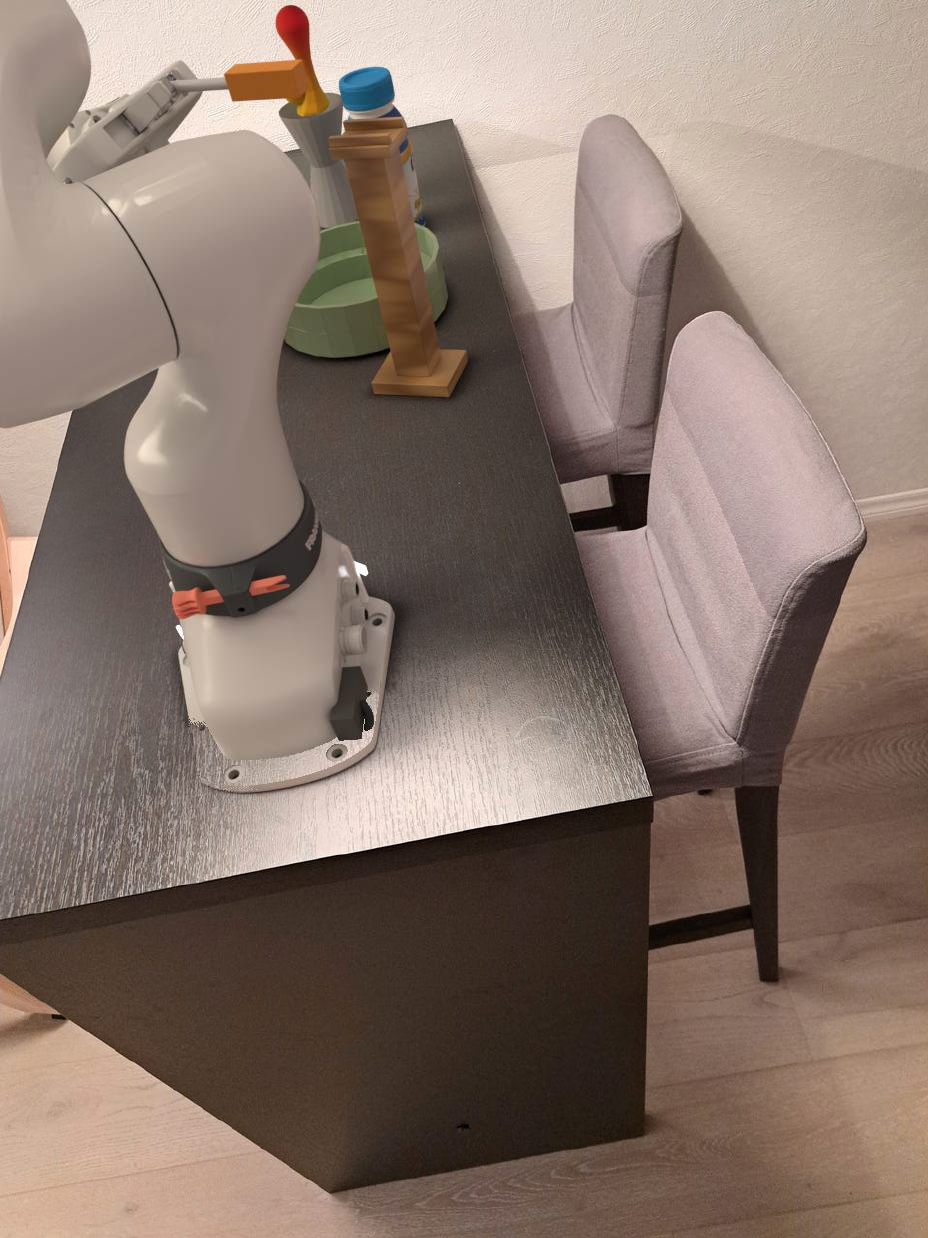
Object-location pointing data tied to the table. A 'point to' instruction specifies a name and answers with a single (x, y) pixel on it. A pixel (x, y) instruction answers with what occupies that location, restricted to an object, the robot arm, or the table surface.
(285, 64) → the screwdriver
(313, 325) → the green pet bowl
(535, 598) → the table surface
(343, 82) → the beverage bottle
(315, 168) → the lava lamp
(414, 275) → the shelf stand
